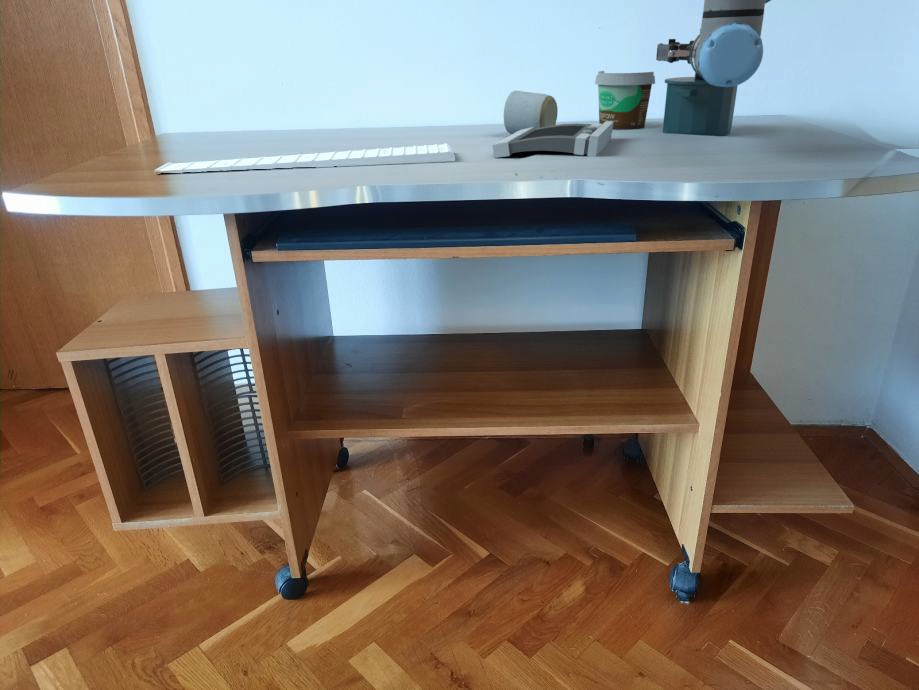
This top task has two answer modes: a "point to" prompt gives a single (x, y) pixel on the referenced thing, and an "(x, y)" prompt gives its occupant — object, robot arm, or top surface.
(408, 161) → the keyboard
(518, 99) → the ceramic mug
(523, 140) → the grey curved frame
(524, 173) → the top surface
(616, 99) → the food container
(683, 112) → the pot
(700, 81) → the lid
